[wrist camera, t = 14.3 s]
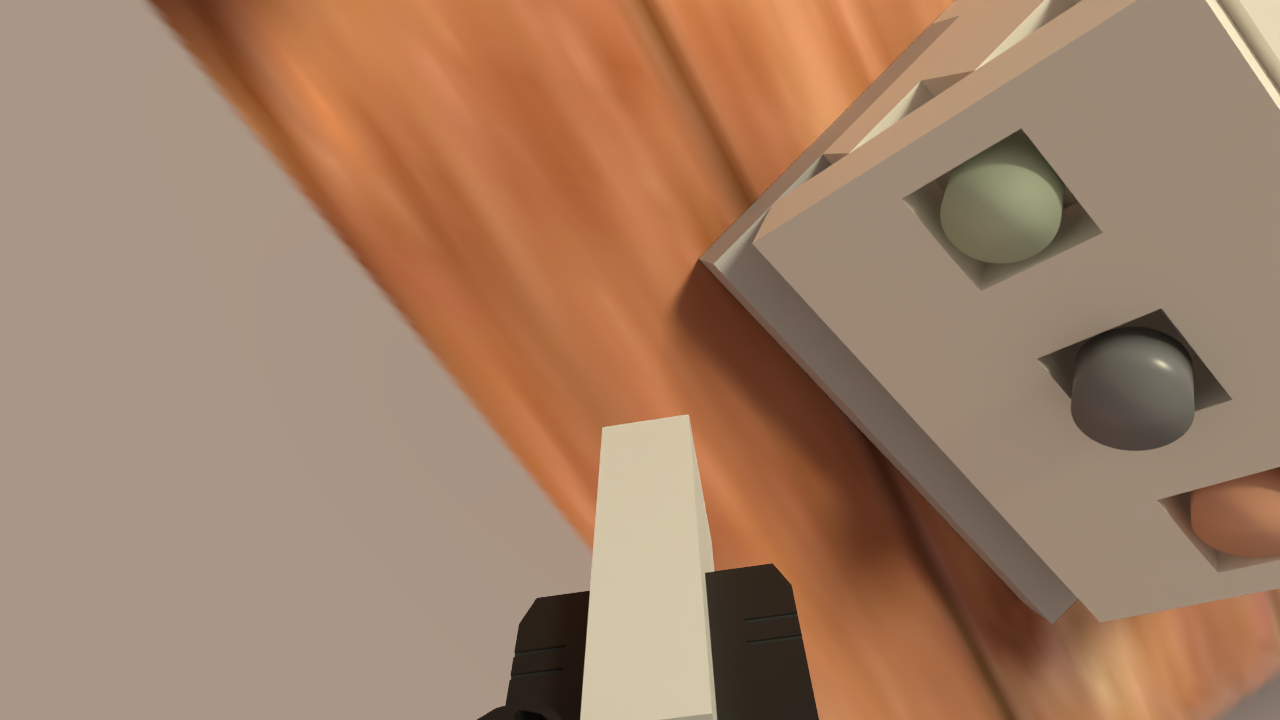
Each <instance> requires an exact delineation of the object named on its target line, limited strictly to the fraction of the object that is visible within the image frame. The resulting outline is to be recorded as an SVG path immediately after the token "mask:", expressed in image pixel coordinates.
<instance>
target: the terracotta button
mask: <svg viewBox="0 0 1280 720" xmlns="http://www.w3.org/2000/svg"><path fill="white" fill-rule="evenodd" d="M1190 503H1191V524H1192V528H1193V530H1194V532H1195V533H1196V535H1197V536H1198V537H1199V538H1200V539H1201V540H1202V541H1203V542H1204V543H1206V544H1207V545H1209V546H1211V547H1213V548H1215V549H1217V550H1219V551H1222V552H1225V553H1228V554H1232V555H1237V556H1244V557H1264V556H1272V555H1276V554H1280V467H1277V468H1274V469H1270V470H1266V471H1262V472H1259V473H1255V474H1251V475H1248V476H1244V477H1240V478H1237V479H1233V480H1229V481H1226V482H1222V483H1218V484H1215V485H1211V486H1207V487H1203V488H1200V489H1196V490H1192V491H1190Z"/></svg>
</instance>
